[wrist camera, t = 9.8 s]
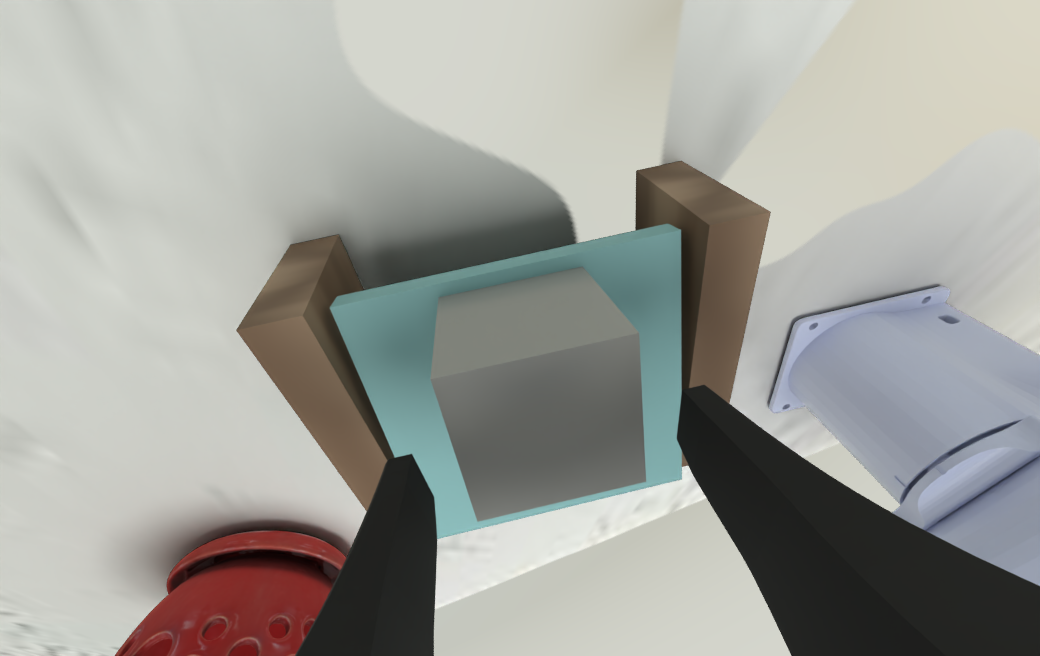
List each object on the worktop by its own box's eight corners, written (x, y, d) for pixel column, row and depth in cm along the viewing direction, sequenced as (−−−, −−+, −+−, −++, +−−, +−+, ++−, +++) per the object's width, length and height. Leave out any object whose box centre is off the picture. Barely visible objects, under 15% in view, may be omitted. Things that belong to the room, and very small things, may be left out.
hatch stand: (681, 161, 18) (770, 211, 13) (663, 395, 27) (713, 476, 22) (290, 244, 17) (236, 330, 13) (403, 456, 26) (397, 553, 21)
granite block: (582, 266, 14) (639, 333, 10) (595, 384, 17) (646, 481, 12) (438, 297, 14) (430, 379, 10) (471, 412, 16) (477, 521, 12)
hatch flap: (641, 210, 17) (680, 229, 14) (651, 431, 23) (681, 479, 20) (352, 273, 17) (329, 307, 14) (434, 483, 22) (430, 540, 19)
